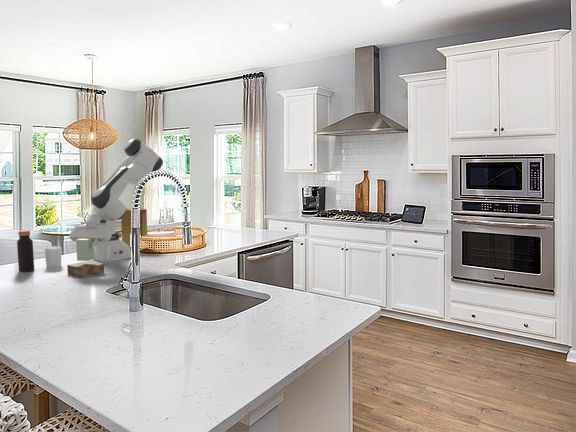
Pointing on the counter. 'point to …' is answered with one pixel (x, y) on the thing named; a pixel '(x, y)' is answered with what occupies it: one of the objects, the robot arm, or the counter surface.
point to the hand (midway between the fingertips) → (84, 247)
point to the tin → (85, 249)
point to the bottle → (25, 252)
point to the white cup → (53, 256)
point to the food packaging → (127, 225)
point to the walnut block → (85, 269)
